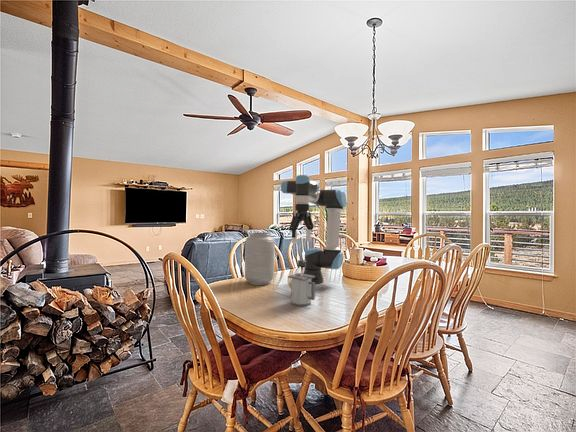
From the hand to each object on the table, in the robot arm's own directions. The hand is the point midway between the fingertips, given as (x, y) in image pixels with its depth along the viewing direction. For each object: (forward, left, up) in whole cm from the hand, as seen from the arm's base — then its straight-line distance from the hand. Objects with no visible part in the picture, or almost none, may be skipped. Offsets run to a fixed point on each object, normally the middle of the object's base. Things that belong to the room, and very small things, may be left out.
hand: (301, 242), depth 165 cm
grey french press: (+2, +4, -33) cm, 33 cm away
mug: (-14, -10, -33) cm, 37 cm away
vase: (-15, -45, -33) cm, 57 cm away
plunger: (+2, +2, -26) cm, 27 cm away
